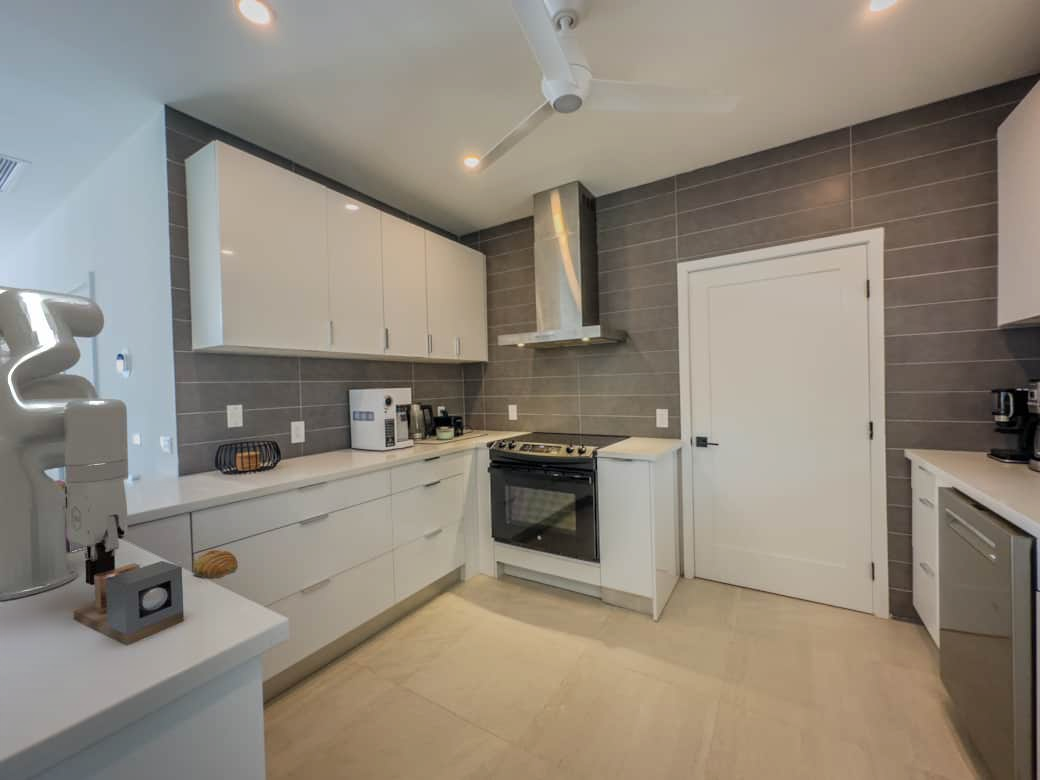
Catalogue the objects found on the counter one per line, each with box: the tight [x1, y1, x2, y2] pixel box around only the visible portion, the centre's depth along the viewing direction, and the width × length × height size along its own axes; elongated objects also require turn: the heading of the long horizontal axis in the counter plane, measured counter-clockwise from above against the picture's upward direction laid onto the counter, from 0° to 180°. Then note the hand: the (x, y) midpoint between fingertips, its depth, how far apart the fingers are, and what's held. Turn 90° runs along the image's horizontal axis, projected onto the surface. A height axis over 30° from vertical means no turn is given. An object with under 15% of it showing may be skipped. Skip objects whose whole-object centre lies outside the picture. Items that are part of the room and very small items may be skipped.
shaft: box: [94, 562, 168, 610], centre depth 67 cm, size 13×5×5 cm, turn 63°
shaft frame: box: [73, 560, 185, 646], centre depth 68 cm, size 18×7×8 cm, turn 63°
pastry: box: [192, 549, 239, 580], centre depth 86 cm, size 9×7×4 cm
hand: (100, 580), depth 72 cm, fingers closed
